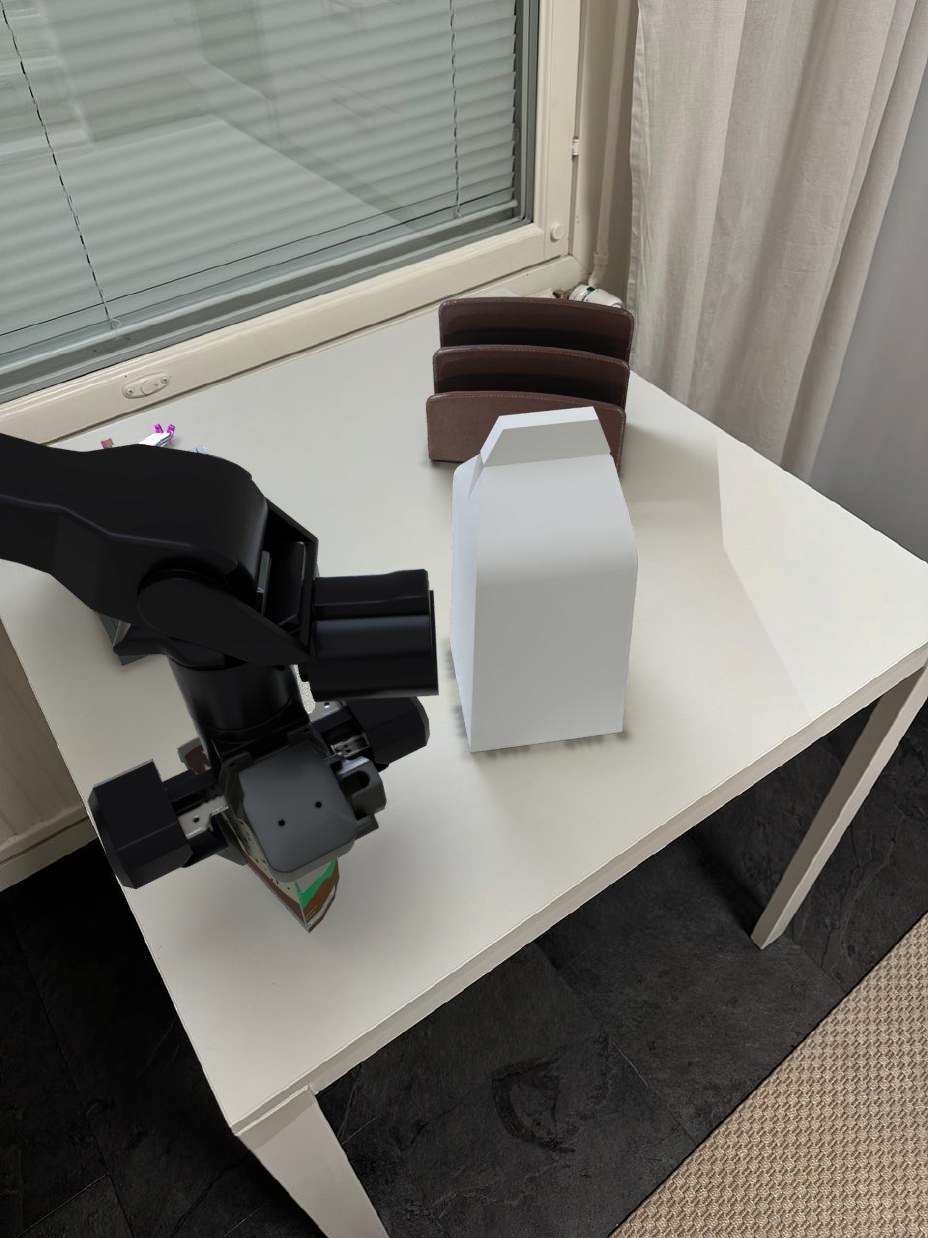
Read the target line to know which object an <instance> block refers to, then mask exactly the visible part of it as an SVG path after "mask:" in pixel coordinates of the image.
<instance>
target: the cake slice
mask: <svg viewBox="0 0 928 1238" xmlns="http://www.w3.org/2000/svg"><path fill="white" fill-rule="evenodd" d="M176 750H177V756H178V758H179V760H180V762H181V764H184V766H185V768H186V769H187V770H189V769H191V768H193V769H194V771H195V772H196V774H200V773H202V772H204V771H206V770H208V769H210V768H211V766H210V764H209V761H208V759H207V756H206V754H205V751H204V749H203V746H202V744H201V742H200V739H199V737H198V736H196V737H194V738H191V739H189V740H188V741H186V742H184V743H182V744H181V745H179V746H178V747H176ZM187 770H186V771H187ZM222 814H223V815H224V817H225V818H226V820H227V822H228V823H229V825H230V826H231V828H232V829H233V831H234V832H235V834H236V836H237V838H238V840H239V843H240V845H241V847H242V849H243V851H244V853H245V855H246V858H247V860H248V864H246V865H247V867H248V868H249V869H250V870H251V871H252V872H253V873H254V874H255V876H256V877H257V878H258V879H259V880H260V881H261V882H262V883H263V884H264V885H265V887H266V888H267V889H268V890H269V891H270V892H271V893H272V894H273V895H274V897H275V898H277V900H278V901H279V902H280V903H281V904H282V905H283V906H284V907H285V909H287V911H288V912H289V913H290V914H291V915H292V916H293V917H294V918H295V920H296V921H297V922H298V923H299V924H300V925H301V926H302V927H303V928H304V930H305V931H306V932H307V933H308V934H310V933H312V931H313V930H314V929H316V927H317V926H319V924H320V923H321V922H322V921H323V920H324V918H325V917H326V915H327V913H328V911H329V910H330V908H331V907H332V904H333V903H334V901H335V899H336V894H337V890H338V886H339V882H340V881H339V880H340V870H339V869H340V868H339V860H338V859H339V858H337V859H334V860H332V861H331V862H329V863H327V864H325V865H323V866H321V867H319V868H317V869H315V870H313V871H311V872H309V873H308V874H306V875H304V876H303V877H301V878H299V879H297V880H295V881H293V882H289V883H284V882H280V881H278V880H276V879H275V878H274V877H273V876H272V875H271V874H270V872H269V870H268V868H267V865H266V863H265V861H264V859H263V857H262V854H261V852H260V850H259V848H258V846H257V844H256V841H255V839H254V837H253V835H252V833H251V831H250V828H249V826H248V824H247V821H246V820H243V819H238V818H237V817H235V818H233V816H232V814H231V812H230V810H229V808H228V809H226V810H224V811H222Z"/></svg>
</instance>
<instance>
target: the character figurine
mask: <svg viewBox="0 0 928 1238" xmlns="http://www.w3.org/2000/svg"><path fill="white" fill-rule="evenodd" d="M153 428H154V433H153V434H151V435H149V436H148V437H146V438H144V439H143V440H141V441H140V442H138V444H147V445H153V446H160V447H164V446H165V445H166V444H167V442H169V441H171V439H173V438H174V434H175V429H176V426H175V425H173V424H172V423H170V424H168V426H167V429H166V431H164V429H163V427H162V426H161V424H160V423H157V424H155V425H153ZM100 444H101V446H102V449H105V448H111V447H113V446H115V444H114V442H113V439H112V437H108V438H105V439H102V440H101V441H100Z"/></svg>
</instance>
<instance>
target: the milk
mask: <svg viewBox="0 0 928 1238" xmlns="http://www.w3.org/2000/svg"><path fill="white" fill-rule="evenodd" d="M610 452H611V450H610V448H609V445H608V443H607V440H606V437H605V435H604V432H603V430H602V427H601V424H600V422H599V419H598V417H597V415H596V412H595V410H594V408H593V406H592V407H582V408H573V409H563V410H553V411H543V412H534V413H524V414H514V415H505V416H499V417H498V419H497V421H496V423H495V425H494V427H493V429H492V430H491V432H490V434H489V436H488V438H487V440H486V442H485V443H484V445H483V447H482V449H481V451H480V453H481V454H478V455H476V456H475V457H473V458H471V459H470V460H468V461H466V462H462V463H461V464H459V465H458V466H457V467H456V469H455V470H454V473H453V478H452V501H451V503H452V506H451V507H452V508H451V548H450V550H451V551H450V552H451V554H450V556H451V557H450V599H449V601H450V602H449V603H450V605H449V645H450V652H451V658H452V663H453V668H454V674H455V678H456V683H457V688H458V694H459V700H460V706H461V709H462V711H461V712H462V717H463V722H464V726H465V731H466V732H465V733H466V737H467V743H468V748H469V753H470V754H472V753H479V752H486V751H492V750H499V749H508V748H515V747H522V746H530V745H536V744H545V743H550V742H551V743H553V742H560V741H566V740H572V739H574V740H575V739H581V738H588V737H595V736H604V735H610V734H616V733H617V734H619V733H622V732H623V726H624V716H625V715H624V714H625V707H626V706H625V705H626V695H627V687H628V686H627V684H628V673H629V665H630V655H631V645H632V635H633V626H634V625H633V623H634V615H635V605H636V603H635V602H636V595H637V594H636V592H637V583H638V573H639V572H638V571H639V553H638V551H639V550H638V545H637V540H636V536H635V531H634V528H633V523H632V521H631V518H630V514H629V509H628V506H627V502H626V500H625V496H624V495H625V494H624V492H623V488H622V485H621V482H620V477H619V473H618V474H617V471H616V467H615V464H614V460H613V457H612V456H611V455H610V454H609V453H610Z"/></svg>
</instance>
